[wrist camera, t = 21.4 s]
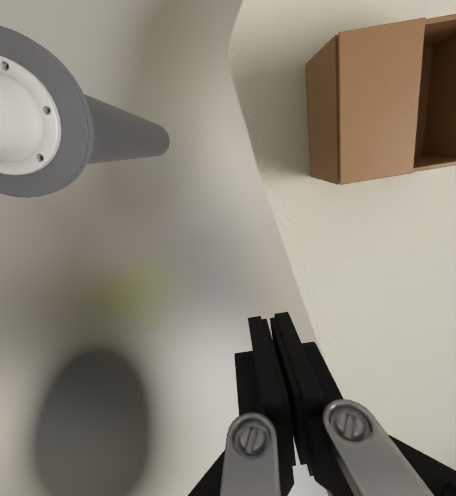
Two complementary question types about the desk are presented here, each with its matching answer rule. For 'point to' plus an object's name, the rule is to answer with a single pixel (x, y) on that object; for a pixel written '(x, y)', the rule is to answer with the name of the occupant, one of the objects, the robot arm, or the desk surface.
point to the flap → (379, 99)
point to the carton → (429, 107)
